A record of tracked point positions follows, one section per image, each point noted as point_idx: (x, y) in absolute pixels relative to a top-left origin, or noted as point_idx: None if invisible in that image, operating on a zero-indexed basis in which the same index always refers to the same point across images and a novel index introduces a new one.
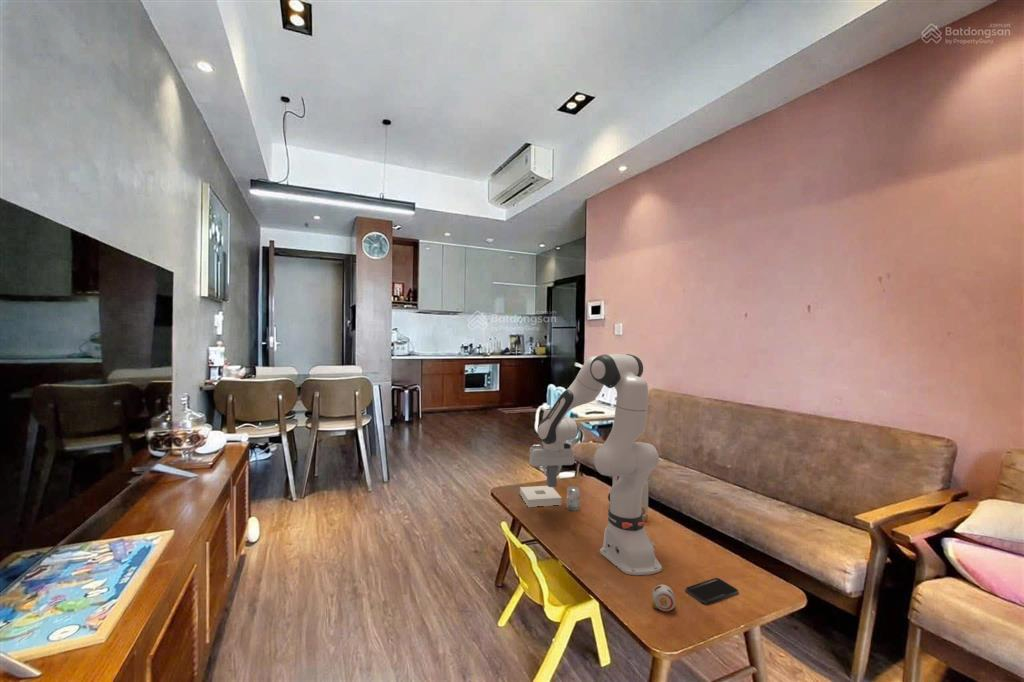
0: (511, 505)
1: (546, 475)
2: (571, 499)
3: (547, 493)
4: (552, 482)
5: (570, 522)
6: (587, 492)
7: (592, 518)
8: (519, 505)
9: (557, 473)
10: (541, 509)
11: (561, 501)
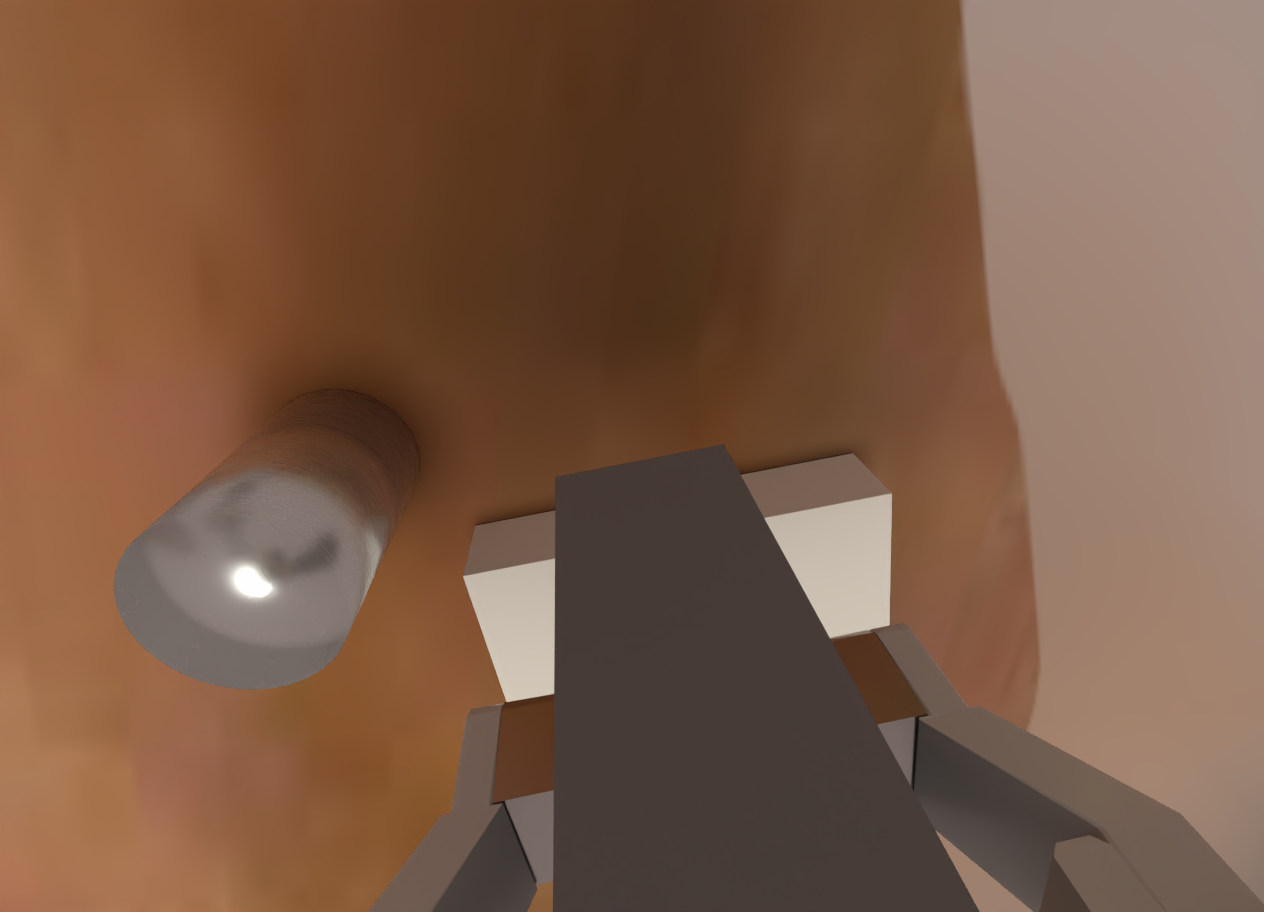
0: (1004, 492)
1: (875, 631)
2: (318, 452)
3: None
4: (660, 510)
5: (386, 13)
6: (186, 819)
7: (61, 159)
8: (925, 497)
9: (519, 740)
10: (715, 413)
11: (470, 549)
